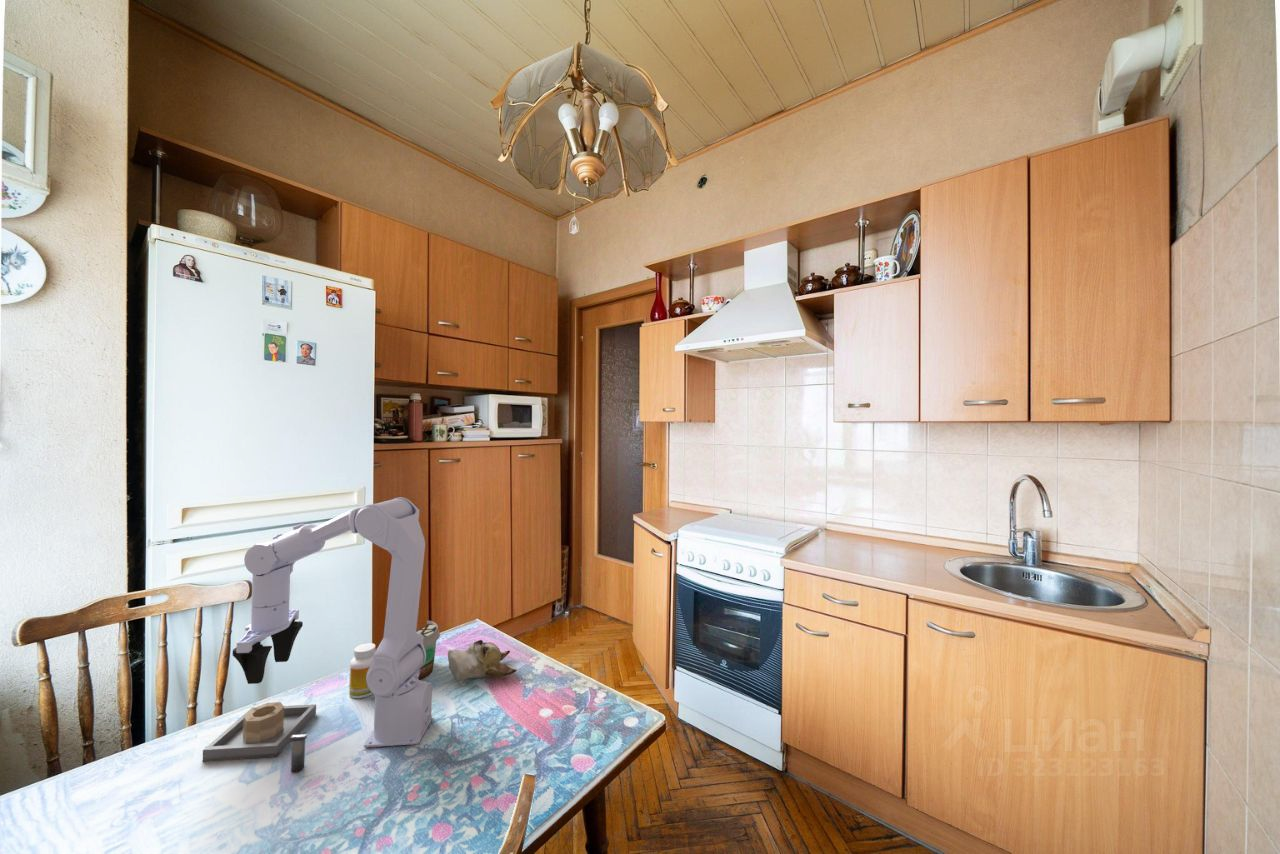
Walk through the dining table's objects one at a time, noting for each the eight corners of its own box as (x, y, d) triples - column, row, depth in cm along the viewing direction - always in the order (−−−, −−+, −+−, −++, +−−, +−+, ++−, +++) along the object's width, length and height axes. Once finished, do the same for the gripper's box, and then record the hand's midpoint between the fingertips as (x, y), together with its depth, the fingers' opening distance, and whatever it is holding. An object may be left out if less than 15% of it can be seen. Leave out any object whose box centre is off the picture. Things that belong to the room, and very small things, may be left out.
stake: (307, 764, 76) (308, 731, 76) (301, 772, 75) (302, 739, 75) (293, 765, 76) (294, 732, 76) (287, 773, 74) (288, 739, 74)
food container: (415, 691, 98) (416, 646, 98) (390, 687, 99) (392, 642, 99) (449, 662, 110) (451, 622, 110) (427, 659, 111) (428, 619, 111)
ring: (289, 722, 86) (289, 701, 86) (269, 742, 81) (270, 720, 81) (258, 724, 85) (258, 703, 85) (236, 744, 80) (237, 721, 80)
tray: (315, 714, 89) (316, 704, 89) (276, 757, 78) (277, 745, 78) (252, 717, 88) (252, 707, 88) (202, 761, 76) (202, 749, 76)
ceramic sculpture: (447, 633, 107) (511, 627, 113) (444, 670, 106) (508, 661, 113) (449, 655, 97) (519, 646, 103) (445, 695, 97) (516, 684, 103)
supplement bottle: (380, 693, 97) (381, 648, 97) (351, 702, 94) (352, 656, 94) (375, 681, 101) (376, 639, 101) (347, 690, 98) (348, 646, 98)
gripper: (273, 589, 94) (272, 653, 94) (218, 618, 80) (216, 694, 80) (310, 588, 95) (308, 652, 95) (261, 617, 81) (259, 692, 81)
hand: (269, 671), depth 88 cm, fingers open, 7 cm apart
